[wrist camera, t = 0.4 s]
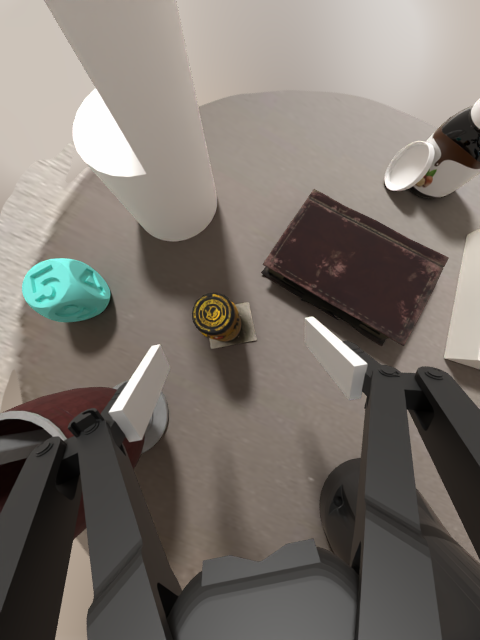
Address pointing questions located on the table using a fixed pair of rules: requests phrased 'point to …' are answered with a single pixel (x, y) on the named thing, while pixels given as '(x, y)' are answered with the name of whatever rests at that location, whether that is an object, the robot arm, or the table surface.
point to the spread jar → (439, 158)
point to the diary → (355, 268)
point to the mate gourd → (62, 432)
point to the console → (466, 308)
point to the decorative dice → (65, 290)
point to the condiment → (223, 320)
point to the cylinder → (141, 112)
